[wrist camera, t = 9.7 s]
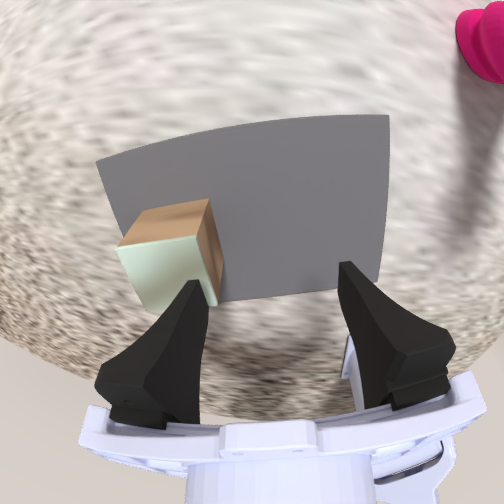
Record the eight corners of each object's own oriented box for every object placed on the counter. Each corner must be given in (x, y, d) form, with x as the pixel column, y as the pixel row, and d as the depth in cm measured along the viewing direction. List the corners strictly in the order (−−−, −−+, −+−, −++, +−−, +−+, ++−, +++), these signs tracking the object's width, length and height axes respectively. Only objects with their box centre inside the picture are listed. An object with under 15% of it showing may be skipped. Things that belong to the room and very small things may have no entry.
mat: (376, 279, 23) (377, 281, 22) (157, 304, 24) (156, 306, 24) (387, 114, 15) (389, 115, 14) (97, 160, 17) (95, 161, 16)
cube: (146, 310, 17) (163, 265, 21) (217, 306, 17) (224, 258, 21) (115, 249, 15) (142, 210, 19) (195, 237, 14) (209, 198, 18)
